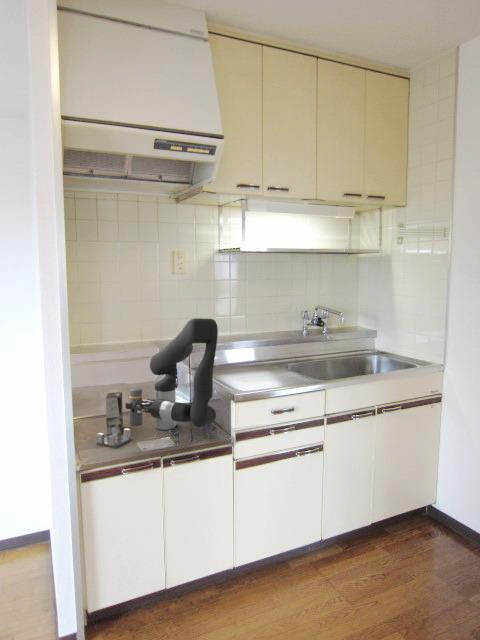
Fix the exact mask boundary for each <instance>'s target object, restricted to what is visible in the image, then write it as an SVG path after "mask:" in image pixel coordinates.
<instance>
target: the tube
mask: <svg viewBox="0 0 480 640" xmlns="http://www.w3.org/2000/svg"><path fill="white" fill-rule="evenodd" d="M128 392H129V393H128V394H129V395H128V396H129V403H131V404H139V403H142V400H143V390H142V388H131V389H129V391H128ZM137 407H138V406H137ZM141 408H142V405H141ZM129 425H130V426H131V427H141V426H142V425H143V414H142V415H138V414H135V413H132V412H131V409H129Z"/></svg>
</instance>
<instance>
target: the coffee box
mask: <svg viewBox="0 0 480 640" xmlns="http://www.w3.org/2000/svg"><path fill="white" fill-rule="evenodd" d="M123 413H124V411H123V392H122V391H121V392H119V391H118V392H108V393H107V395H106V397H105V417H106V418H105V421H106V422H105V423H106V424H105V425H106V426H105V427H106V429H105V431H106V435H112V427H114V426H117V427H119V435H120V434H122V431H123V429H124V428H123V427H124V419H123V418H124V417H123V416H124V415H123Z"/></svg>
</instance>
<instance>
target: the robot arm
mask: <svg viewBox="0 0 480 640" xmlns="http://www.w3.org/2000/svg"><path fill="white" fill-rule="evenodd" d="M218 331H219V330H218V324H217V322H216V320H215V319H213V318H196V317H195V318H192V319H190V320H188V321H187V322H186V324H185V325H184V326H183V328H182V329H181V331H180V332H179V333H178V334H177V335H176V337H174V338H173V339H172V340H171V341H170V342H169V343H168V344H167V345H166V346H165V347H164V348H163V349H161V350H160V351H159V352H157V353H155V354H153V356H152V357H151V359H150V363H149V369H150V371H151V373H152V374H153V375H156V376H163V375H164V377H162V378H161V379H160V380H158V381H156V382H155V383H154V398H147V399H142V403H139V404H131V403H130V402H126V403H125V404H124V405H125V406H124V407H125V409H127V410H130V409H131V412H132V413H135V414H138V415H142V416H143V413H145V414H150V415H151V417H152V418H153V419H154V424H155V425H154V427H155V429H157V430H167V431H168V430H172V429H174V428H176V426H177V424H178V422H179V423H188V422H189V423H190V422H191V423H192V425H193V426H194V427H197V428H203V427H206V426H208V425H211V424H213V423H214V421H215V420H216V418H217V412H216V410H215V409H214V408H213V407H212V406H210V405H209V401H210V400H212V398H213V394H214V393H213V390H214V389H213V387H214V386H213V385H214V384H213V375H214V365H215V358H216V351H217V343H218V338H219V337H218V336H219V332H218ZM193 344H205V349H204V350H205V351H204V354H203V356H202V359H201V361H200V362H199V364H198V366H197V368H196V371H195V372H194V375H193V398H192V400H191V404H190V403H189V404H188V403H184V402H178V401H176V385H177V368H178V367H177V366H178V365H177V364H179V363H181V362H184V360H186V359H187V358H188V357H189V356H190V355H192V353H193V349H194V345H193ZM141 405H142V408H141ZM137 406H138V407H137Z"/></svg>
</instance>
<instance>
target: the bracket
mask: <svg viewBox="0 0 480 640" xmlns="http://www.w3.org/2000/svg"><path fill="white" fill-rule="evenodd" d="M131 432H132V430H131V428H123V435H120V434H119V427H117V426H114V427H112V434H109V435H108V436H106V437H105V433H102V432H99V433H96V442H95V443H96V445H99V446H103V447H108V448H111V449H117V448H120V447H121V446H123V445H125V444H127V443H129V442H131V441H132V440H133V438H132V437H131V436H132V435H131V434H132V433H131Z"/></svg>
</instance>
